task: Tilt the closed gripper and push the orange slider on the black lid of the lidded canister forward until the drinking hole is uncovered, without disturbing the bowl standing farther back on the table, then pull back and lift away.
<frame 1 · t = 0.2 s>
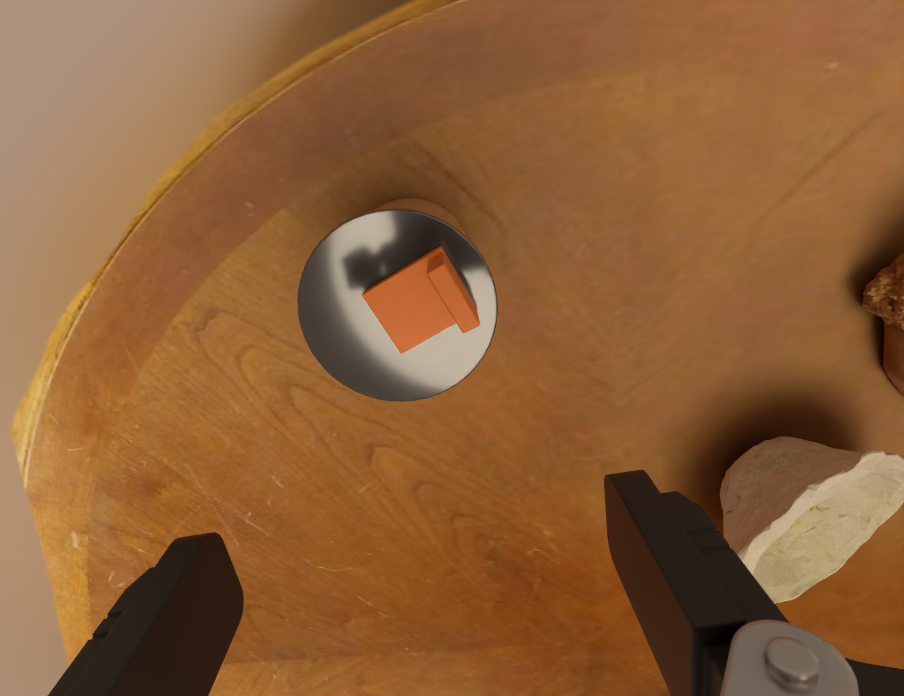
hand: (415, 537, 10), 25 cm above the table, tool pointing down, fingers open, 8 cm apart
slider: (419, 309, 21), point 13 cm above the table, slide at 0.0 cm
lidded canister: (411, 263, 34), on the table
bowl: (762, 474, 41), on the table
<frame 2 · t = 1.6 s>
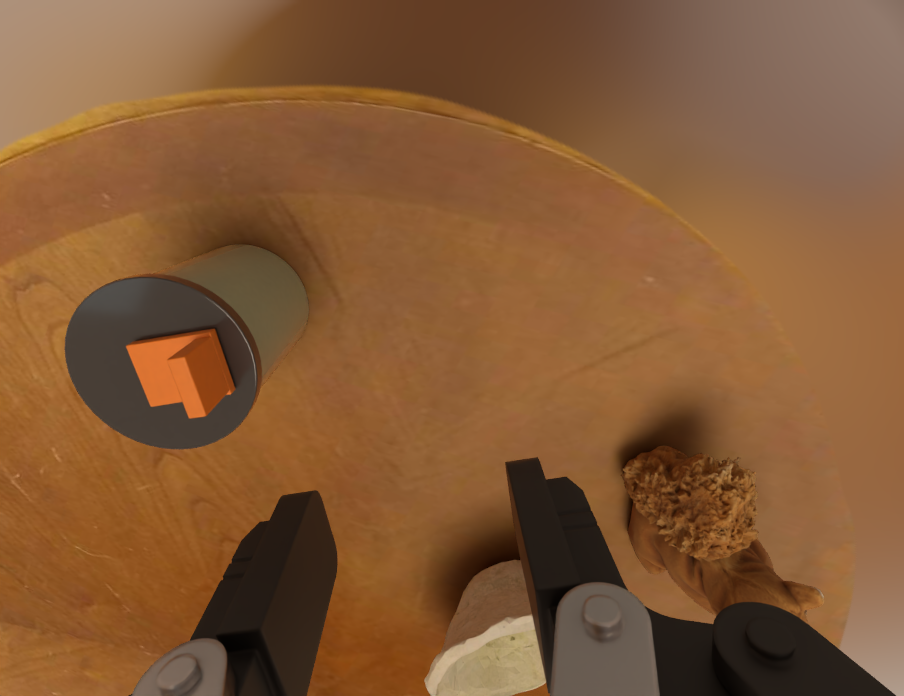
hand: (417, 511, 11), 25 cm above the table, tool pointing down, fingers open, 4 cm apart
slider: (168, 379, 23), point 13 cm above the table, slide at 0.0 cm
lidded canister: (248, 304, 35), on the table
stuffed squirrel: (668, 488, 42), on the table
bowl: (510, 585, 45), on the table
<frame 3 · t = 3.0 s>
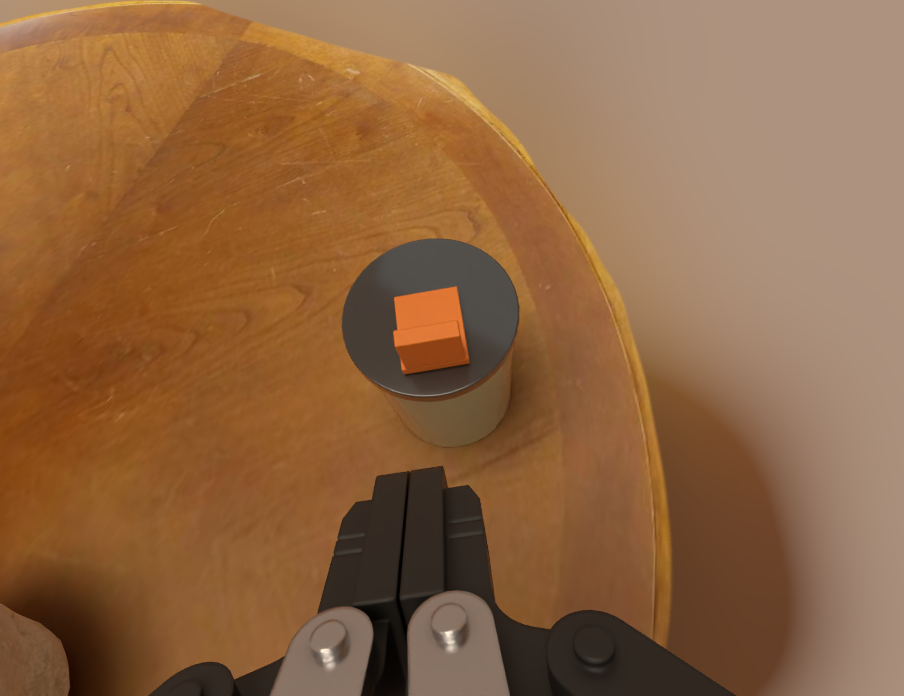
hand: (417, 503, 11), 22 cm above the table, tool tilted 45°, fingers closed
slider: (427, 317, 23), point 13 cm above the table, slide at 0.0 cm
lidded canister: (451, 389, 36), on the table
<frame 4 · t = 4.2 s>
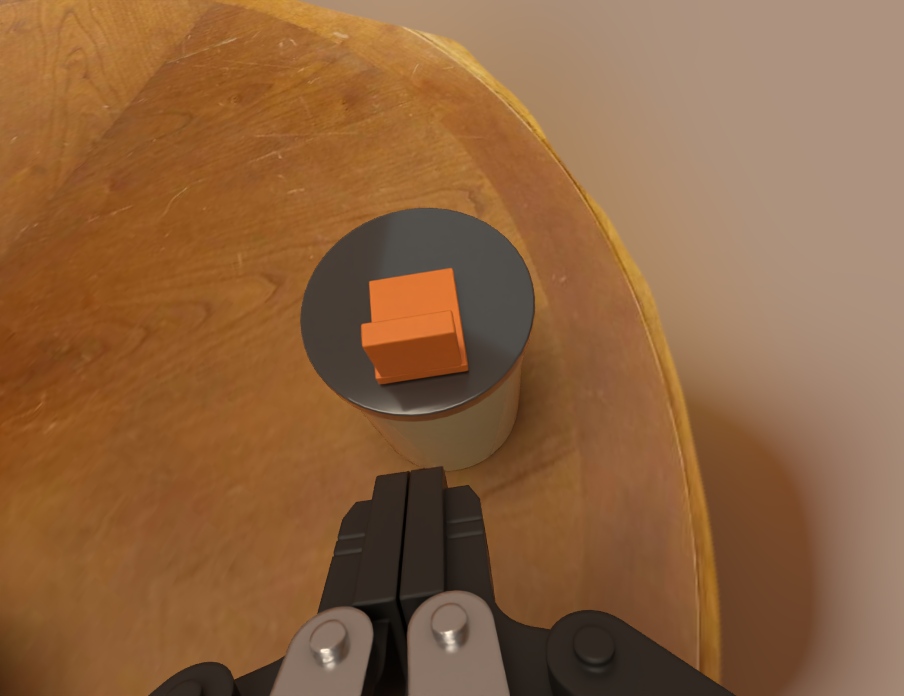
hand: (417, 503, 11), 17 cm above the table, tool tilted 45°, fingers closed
slider: (410, 307, 17), point 13 cm above the table, slide at 0.0 cm
lidded canister: (447, 399, 30), on the table
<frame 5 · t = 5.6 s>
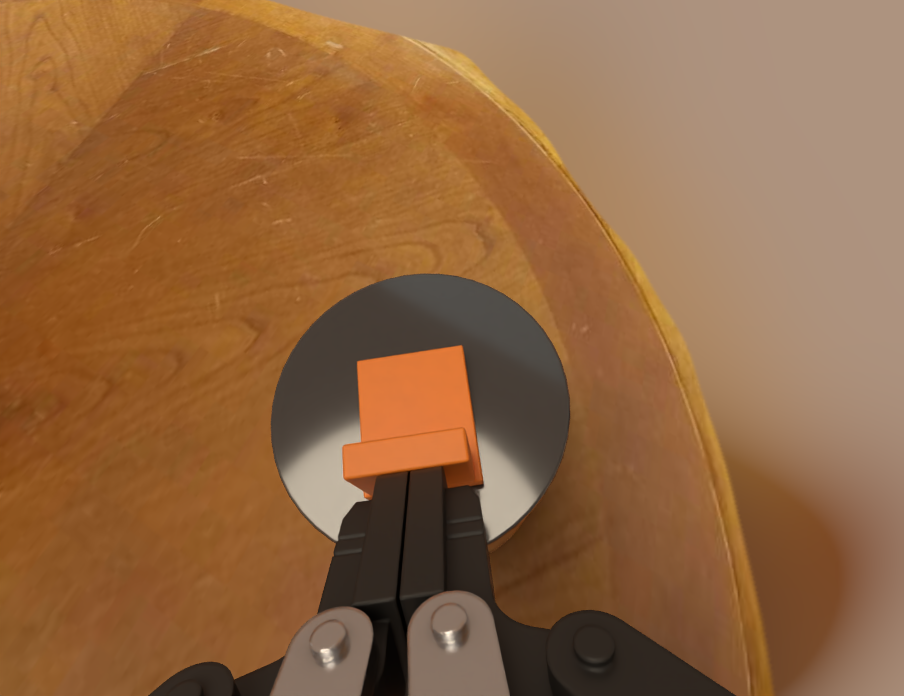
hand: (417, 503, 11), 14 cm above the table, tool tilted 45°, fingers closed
slider: (409, 405, 13), point 13 cm above the table, slide at 0.5 cm, touching gripper
lidded canister: (452, 473, 26), on the table
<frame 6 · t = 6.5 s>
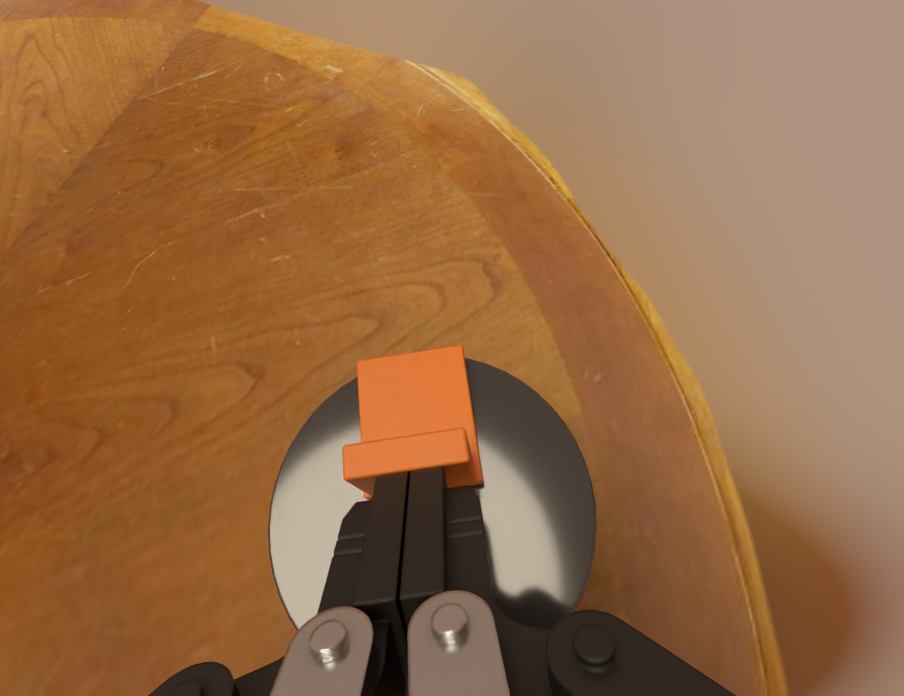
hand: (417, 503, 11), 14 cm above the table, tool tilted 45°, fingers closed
slider: (409, 406, 13), point 14 cm above the table, slide at 3.5 cm, touching gripper
lidded canister: (460, 535, 24), on the table
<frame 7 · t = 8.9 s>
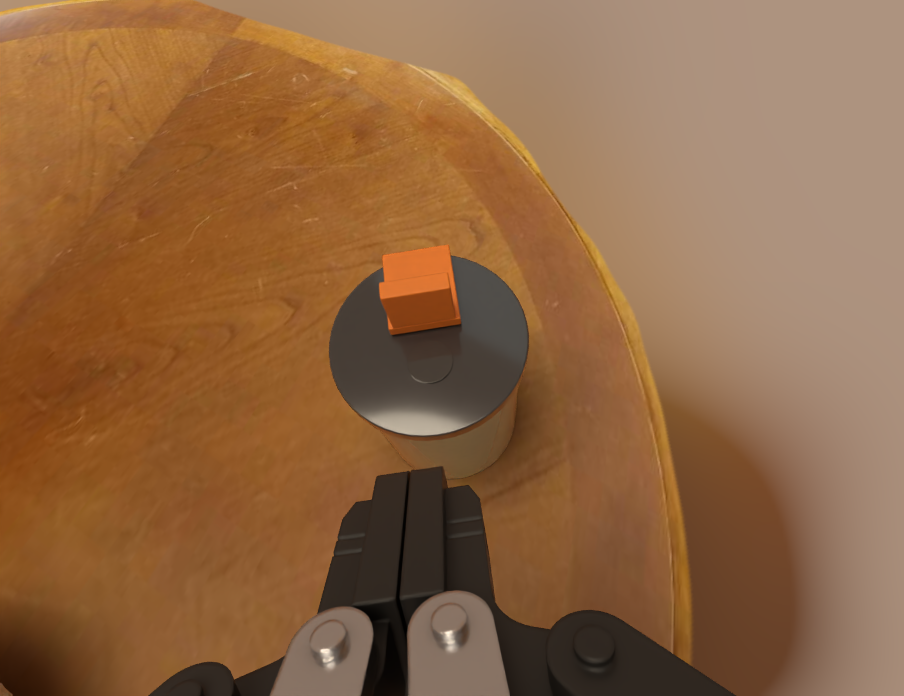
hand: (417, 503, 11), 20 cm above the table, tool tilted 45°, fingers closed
slider: (416, 273, 22), point 13 cm above the table, slide at 3.5 cm
lidded canister: (451, 414, 33), on the table
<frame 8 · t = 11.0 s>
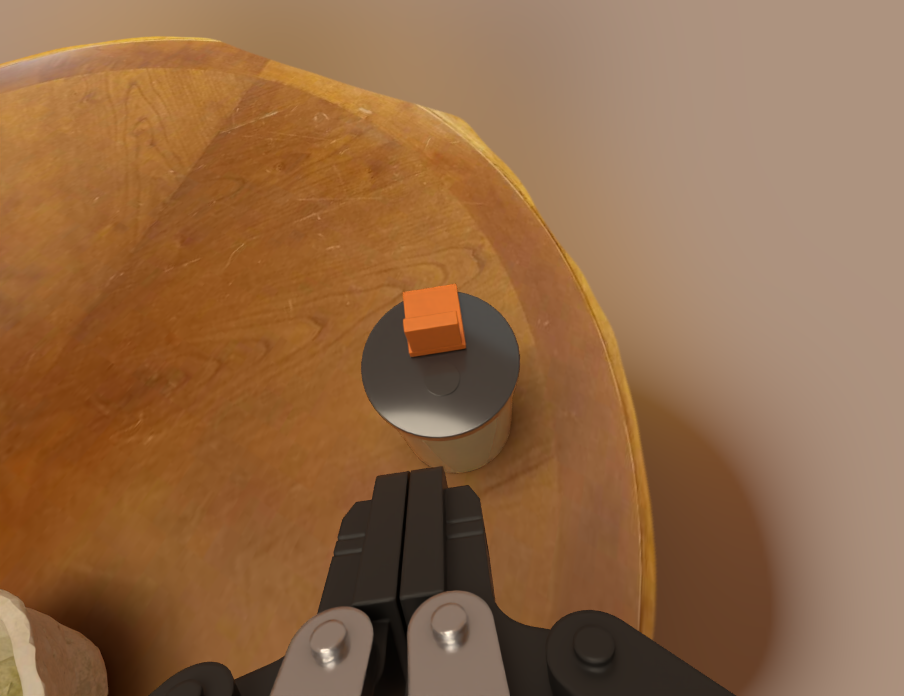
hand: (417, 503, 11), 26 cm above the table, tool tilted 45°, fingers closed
slider: (430, 308, 28), point 13 cm above the table, slide at 3.5 cm
lidded canister: (456, 418, 39), on the table
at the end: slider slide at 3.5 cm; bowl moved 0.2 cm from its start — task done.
